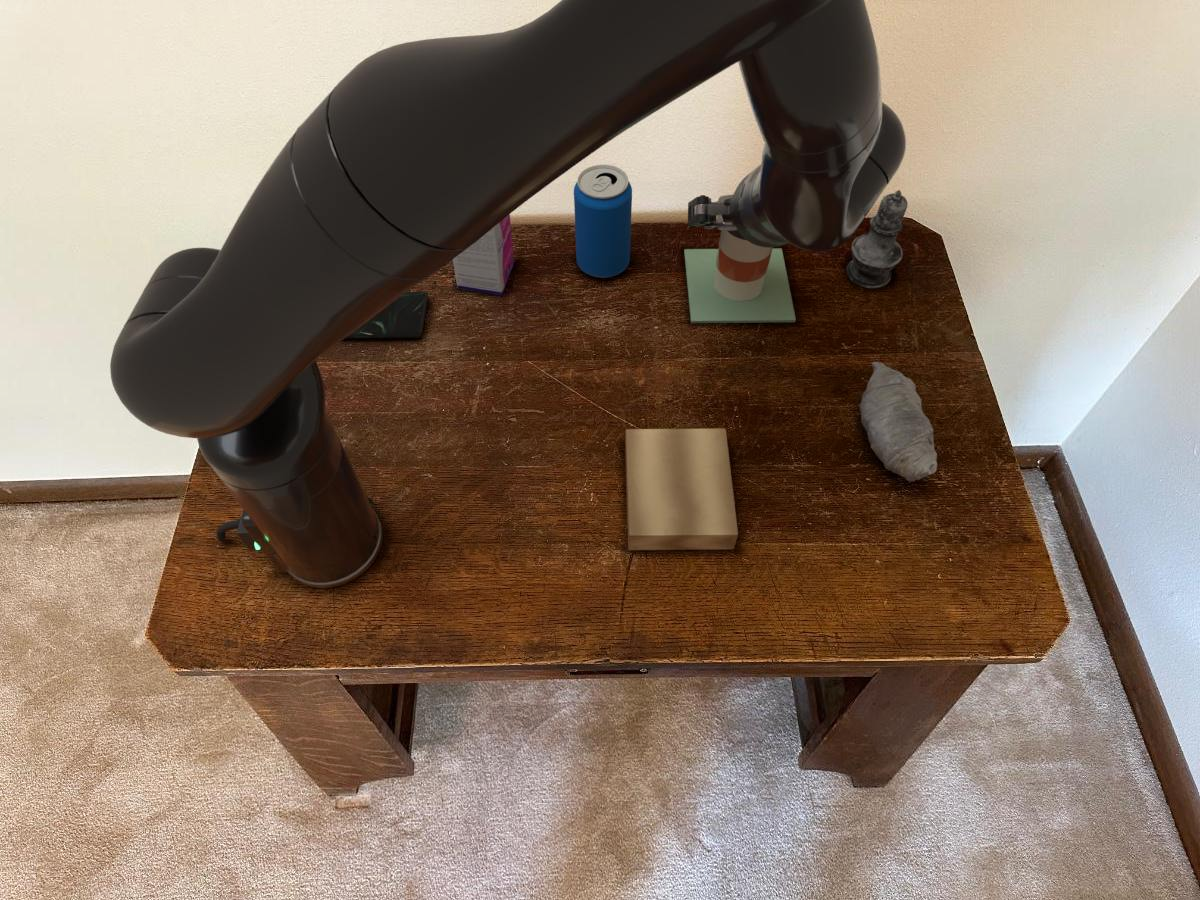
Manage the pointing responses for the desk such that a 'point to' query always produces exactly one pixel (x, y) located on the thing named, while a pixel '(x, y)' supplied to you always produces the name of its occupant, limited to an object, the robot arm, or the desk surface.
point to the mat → (718, 309)
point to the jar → (740, 267)
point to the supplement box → (487, 261)
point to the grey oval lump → (898, 424)
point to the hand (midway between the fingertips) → (746, 219)
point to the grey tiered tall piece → (879, 245)
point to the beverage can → (603, 220)
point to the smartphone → (397, 319)
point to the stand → (679, 490)
